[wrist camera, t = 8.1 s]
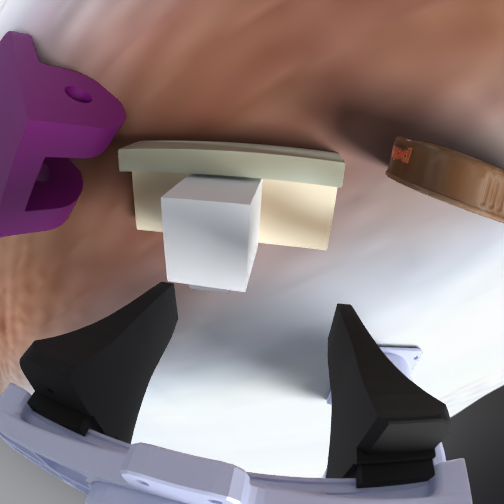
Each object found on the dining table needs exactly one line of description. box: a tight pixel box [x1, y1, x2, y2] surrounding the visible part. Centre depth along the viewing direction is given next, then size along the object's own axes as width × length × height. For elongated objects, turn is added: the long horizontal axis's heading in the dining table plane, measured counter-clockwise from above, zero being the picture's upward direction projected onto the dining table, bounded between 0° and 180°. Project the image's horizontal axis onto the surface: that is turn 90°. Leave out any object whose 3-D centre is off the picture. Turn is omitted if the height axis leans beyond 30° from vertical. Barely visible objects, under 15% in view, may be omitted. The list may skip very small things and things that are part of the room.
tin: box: [386, 136, 504, 223], centre depth 14 cm, size 15×3×8 cm, turn 83°
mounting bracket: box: [0, 31, 126, 237], centre depth 18 cm, size 9×8×18 cm
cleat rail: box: [118, 141, 345, 250], centre depth 20 cm, size 6×14×3 cm, turn 87°
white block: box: [161, 174, 263, 294], centre depth 18 cm, size 6×4×6 cm
